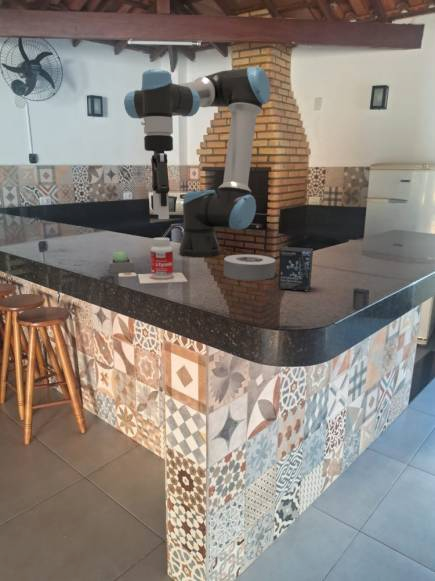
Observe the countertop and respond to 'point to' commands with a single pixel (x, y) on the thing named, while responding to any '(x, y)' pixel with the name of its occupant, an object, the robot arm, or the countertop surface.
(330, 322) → the countertop surface
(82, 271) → the countertop surface
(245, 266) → the tape roll
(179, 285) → the countertop surface
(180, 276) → the sheet
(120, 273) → the card
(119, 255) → the button cap
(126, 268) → the button base
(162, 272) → the pill bottle
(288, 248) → the box
